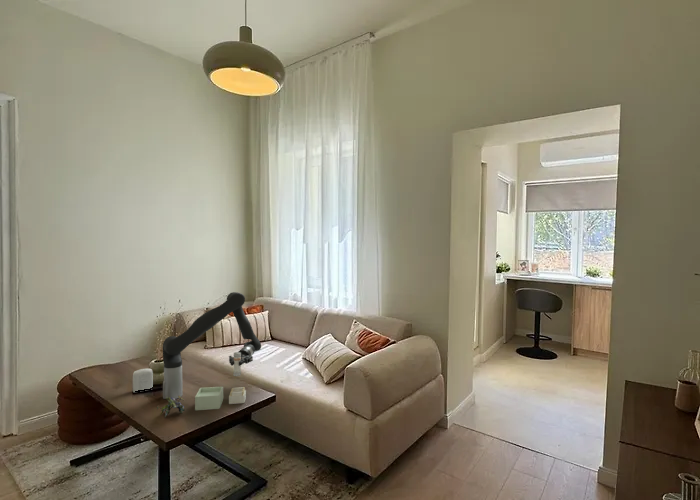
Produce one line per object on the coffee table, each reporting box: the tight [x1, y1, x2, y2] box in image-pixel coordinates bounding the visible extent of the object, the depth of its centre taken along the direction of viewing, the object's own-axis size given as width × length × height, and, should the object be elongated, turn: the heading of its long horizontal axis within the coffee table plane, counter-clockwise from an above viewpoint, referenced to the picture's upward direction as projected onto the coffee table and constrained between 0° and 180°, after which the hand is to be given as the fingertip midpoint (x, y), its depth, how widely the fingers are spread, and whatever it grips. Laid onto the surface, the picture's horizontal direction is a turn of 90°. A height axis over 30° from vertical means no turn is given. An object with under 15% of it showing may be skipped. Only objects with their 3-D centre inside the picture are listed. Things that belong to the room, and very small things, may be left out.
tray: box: [194, 386, 224, 411], centre depth 203 cm, size 12×12×7 cm
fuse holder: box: [228, 386, 247, 405], centre depth 208 cm, size 8×8×6 cm
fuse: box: [233, 351, 242, 377], centre depth 207 cm, size 4×4×12 cm
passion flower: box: [156, 396, 185, 418], centre depth 190 cm, size 11×11×12 cm
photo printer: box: [132, 368, 154, 393], centre depth 221 cm, size 10×4×12 cm, turn 123°
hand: (235, 363), depth 204 cm, fingers closed on fuse, 3 cm apart
